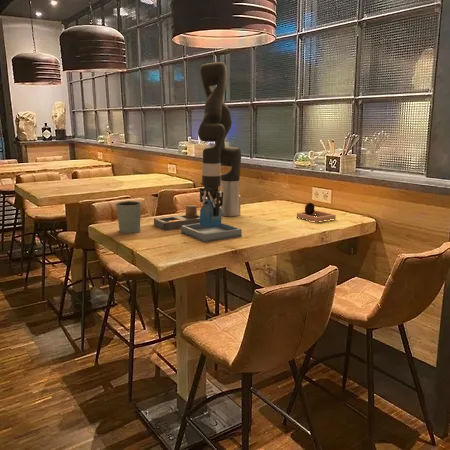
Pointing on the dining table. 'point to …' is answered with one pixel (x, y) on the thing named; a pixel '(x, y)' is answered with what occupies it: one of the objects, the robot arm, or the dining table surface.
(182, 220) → the slot holder
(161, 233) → the dining table surface
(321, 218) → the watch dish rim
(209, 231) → the tray
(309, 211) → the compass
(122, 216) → the grey cup
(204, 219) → the perfume bottle
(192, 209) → the walnut peg
